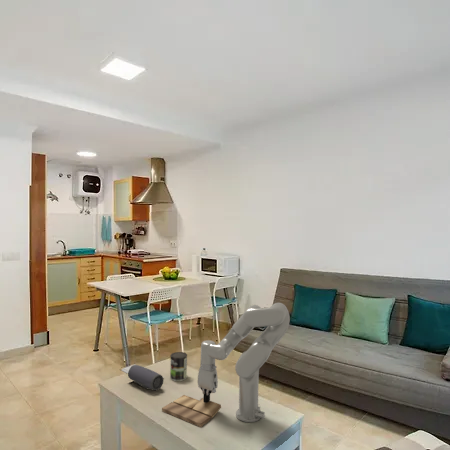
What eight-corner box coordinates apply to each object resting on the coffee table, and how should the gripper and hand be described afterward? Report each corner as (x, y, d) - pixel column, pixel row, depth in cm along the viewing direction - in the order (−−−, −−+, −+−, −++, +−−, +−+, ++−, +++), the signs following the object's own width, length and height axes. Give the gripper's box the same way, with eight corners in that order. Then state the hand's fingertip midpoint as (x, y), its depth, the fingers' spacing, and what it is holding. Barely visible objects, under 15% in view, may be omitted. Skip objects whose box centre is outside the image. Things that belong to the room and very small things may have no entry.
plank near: (221, 407, 177) (220, 404, 176) (211, 418, 170) (211, 415, 170) (202, 400, 184) (202, 397, 183) (192, 411, 177) (192, 408, 177)
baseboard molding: (147, 386, 205) (164, 380, 214) (147, 381, 205) (164, 375, 214) (118, 371, 226) (134, 366, 235) (119, 367, 226) (134, 362, 235)
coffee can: (177, 382, 210) (177, 359, 210) (166, 377, 217) (167, 354, 217) (190, 377, 217) (190, 354, 217) (179, 372, 224) (180, 350, 225)
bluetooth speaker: (164, 389, 202) (164, 371, 202) (151, 395, 194) (151, 376, 194) (139, 378, 216) (140, 361, 216) (127, 383, 209) (127, 366, 209)
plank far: (200, 404, 184) (200, 401, 184) (190, 411, 177) (190, 407, 177) (183, 397, 191) (183, 394, 191) (173, 404, 184) (173, 401, 184)
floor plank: (210, 419, 170) (211, 416, 170) (200, 427, 163) (200, 423, 163) (172, 404, 184) (172, 401, 184) (161, 411, 177) (161, 407, 177)
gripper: (223, 367, 178) (222, 403, 178) (201, 360, 187) (199, 394, 187) (215, 372, 172) (213, 409, 172) (191, 364, 181) (190, 399, 181)
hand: (206, 401), depth 180 cm, fingers closed
